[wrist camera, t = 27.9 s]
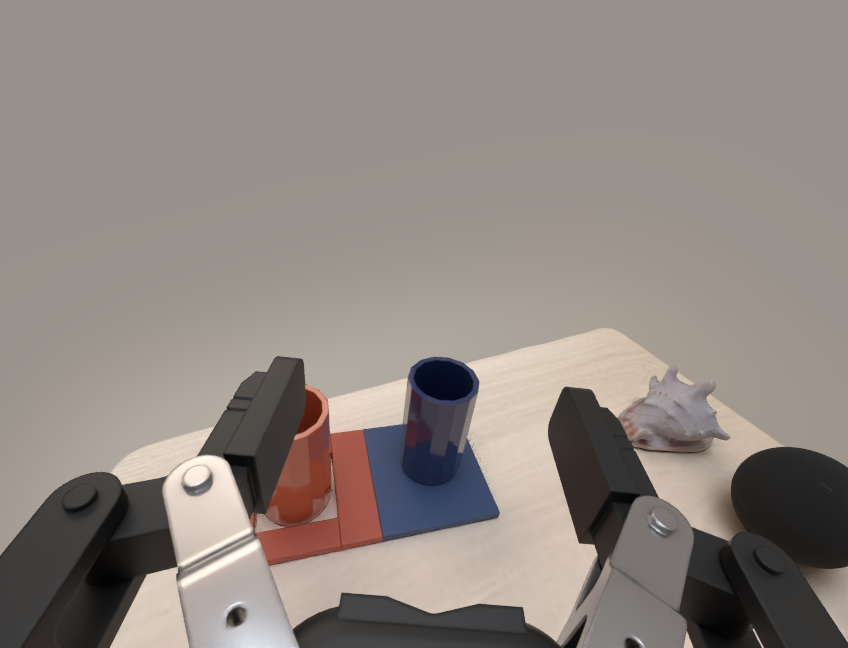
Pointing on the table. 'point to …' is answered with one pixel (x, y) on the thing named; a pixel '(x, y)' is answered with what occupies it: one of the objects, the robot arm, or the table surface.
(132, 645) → the table surface
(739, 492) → the speaker
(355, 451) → the sorting board
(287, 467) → the red cup
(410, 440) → the blue cup
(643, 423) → the seashell
